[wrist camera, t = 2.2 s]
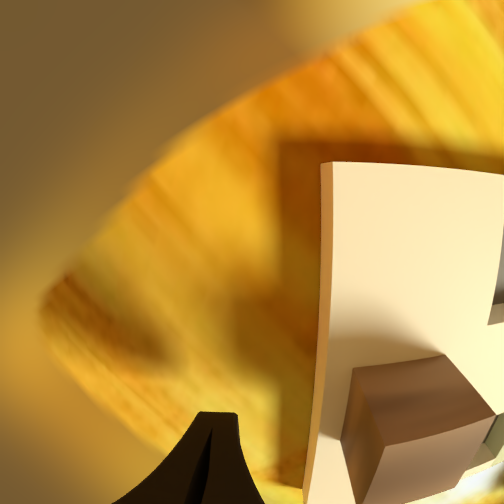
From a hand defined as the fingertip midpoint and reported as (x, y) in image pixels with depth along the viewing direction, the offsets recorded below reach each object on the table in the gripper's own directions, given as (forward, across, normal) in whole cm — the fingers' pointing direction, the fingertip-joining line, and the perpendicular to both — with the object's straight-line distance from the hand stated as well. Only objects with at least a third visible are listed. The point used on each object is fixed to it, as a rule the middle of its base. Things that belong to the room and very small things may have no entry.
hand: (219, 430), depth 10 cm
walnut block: (+1, -7, 0) cm, 7 cm away
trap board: (+3, -14, 0) cm, 14 cm away
